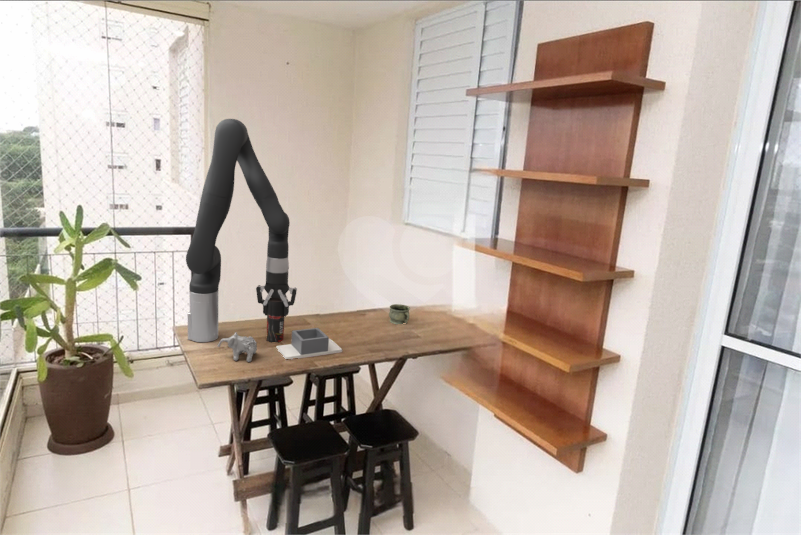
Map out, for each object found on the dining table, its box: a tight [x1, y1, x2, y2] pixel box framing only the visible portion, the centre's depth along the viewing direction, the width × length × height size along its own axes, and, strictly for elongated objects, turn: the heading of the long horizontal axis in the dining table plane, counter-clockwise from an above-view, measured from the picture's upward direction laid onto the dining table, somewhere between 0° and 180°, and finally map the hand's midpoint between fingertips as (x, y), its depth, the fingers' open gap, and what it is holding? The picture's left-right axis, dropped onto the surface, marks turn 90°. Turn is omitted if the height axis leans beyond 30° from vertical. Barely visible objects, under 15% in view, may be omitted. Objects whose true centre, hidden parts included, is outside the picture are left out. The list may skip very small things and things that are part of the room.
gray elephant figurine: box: [217, 331, 258, 363], centre depth 162 cm, size 9×12×8 cm
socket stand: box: [275, 327, 343, 360], centre depth 172 cm, size 20×10×6 cm, turn 121°
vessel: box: [388, 303, 411, 325], centre depth 209 cm, size 12×9×6 cm
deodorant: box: [265, 297, 285, 343], centre depth 178 cm, size 6×6×15 cm
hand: (275, 315), depth 177 cm, fingers closed on deodorant, 6 cm apart
